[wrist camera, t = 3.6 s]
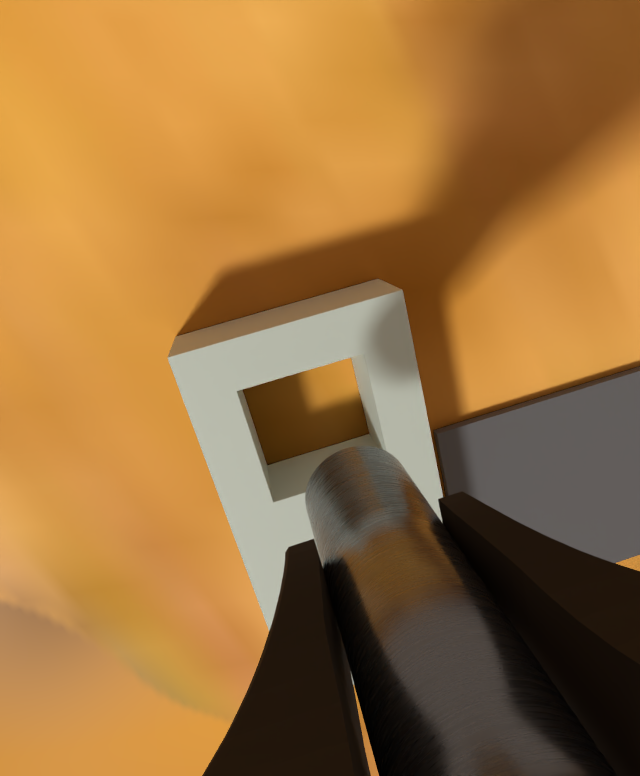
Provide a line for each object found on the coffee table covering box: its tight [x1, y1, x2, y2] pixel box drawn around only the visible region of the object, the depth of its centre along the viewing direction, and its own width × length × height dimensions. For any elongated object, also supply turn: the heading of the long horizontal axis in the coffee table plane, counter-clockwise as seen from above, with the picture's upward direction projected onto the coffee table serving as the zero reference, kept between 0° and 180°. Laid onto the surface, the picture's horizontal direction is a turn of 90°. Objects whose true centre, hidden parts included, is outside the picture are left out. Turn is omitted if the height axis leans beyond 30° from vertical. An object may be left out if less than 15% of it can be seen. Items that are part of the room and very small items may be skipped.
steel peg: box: [305, 446, 618, 776], centre depth 11 cm, size 3×3×9 cm
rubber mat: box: [434, 366, 640, 563], centre depth 25 cm, size 10×10×1 cm
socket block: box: [168, 279, 443, 685], centre depth 22 cm, size 16×8×3 cm, turn 14°
